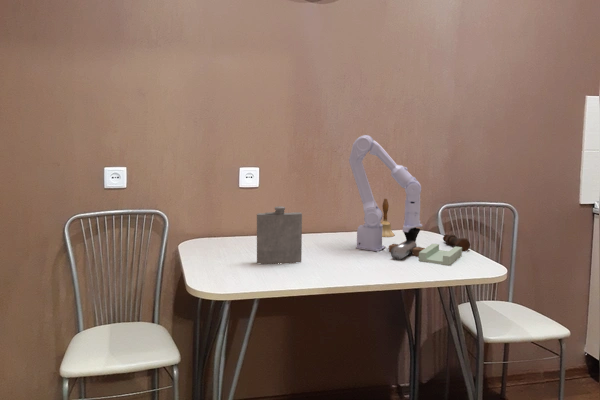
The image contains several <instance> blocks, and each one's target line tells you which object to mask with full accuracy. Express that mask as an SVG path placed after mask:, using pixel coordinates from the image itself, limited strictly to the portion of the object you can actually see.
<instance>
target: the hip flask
mask: <svg viewBox="0 0 600 400" xmlns="http://www.w3.org/2000/svg"><path fill="white" fill-rule="evenodd" d="M274 210H275V211H273V212H272V211H270V212H263V213H262V212H260V213H257V214H256V264H257V263H261V264H260V265H281V264H280V263H289V264H297V263H296V262H300V263H302V252H303V251H302V250H303V249H302V248H303V247H302V243H303V242H302V241H303V240H302V238H303V235H302V233H303V213H302V212H301V211H299V212H285V210H286V207H285V206H282V205H281V206H280V205H279V206H275V207H274ZM278 263H279V264H278Z"/></svg>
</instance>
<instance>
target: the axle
mask: <svg viewBox="0 0 600 400" xmlns="http://www.w3.org/2000/svg"><path fill="white" fill-rule="evenodd" d="M415 247H418V246H417V242H415V241H414V240H412V239H408V240H404V241H402V242H401V243H399V245H397V246H395V247H393V248H392V250H391V252H390V256H391V257H392V259H394V261H401V260H402V259H404V258H406V257H407V256H408V255H410V254H412V251H413V249H414V248H415Z"/></svg>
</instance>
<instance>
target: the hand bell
mask: <svg viewBox="0 0 600 400" xmlns="http://www.w3.org/2000/svg"><path fill="white" fill-rule="evenodd" d="M381 207H382V213H383V217H382V219H383V220H382V221H380V222H381V224H382V225H383V226H382V227H383V229H382V238H393V237H395V233H394V231H393V230H392V227H391V223H390V221H388V213H389V212H388V211H389V201H388V199H387V198H384V199H383V202H382V206H381Z"/></svg>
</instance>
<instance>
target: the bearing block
mask: <svg viewBox="0 0 600 400" xmlns="http://www.w3.org/2000/svg"><path fill="white" fill-rule="evenodd" d="M399 244H400V243H399ZM399 244H398V243H392V244H390V245H389V246H388V252H389V253H391V250H392V248H393V247H395V246H397V245H399ZM425 248H426V247H419V246H417V247H415V248H414V249H413V251H412V253H411V254H412V255H411V256H413V257H414V256H415V257H419V252H420V251H422V250H423V249H425Z"/></svg>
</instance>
